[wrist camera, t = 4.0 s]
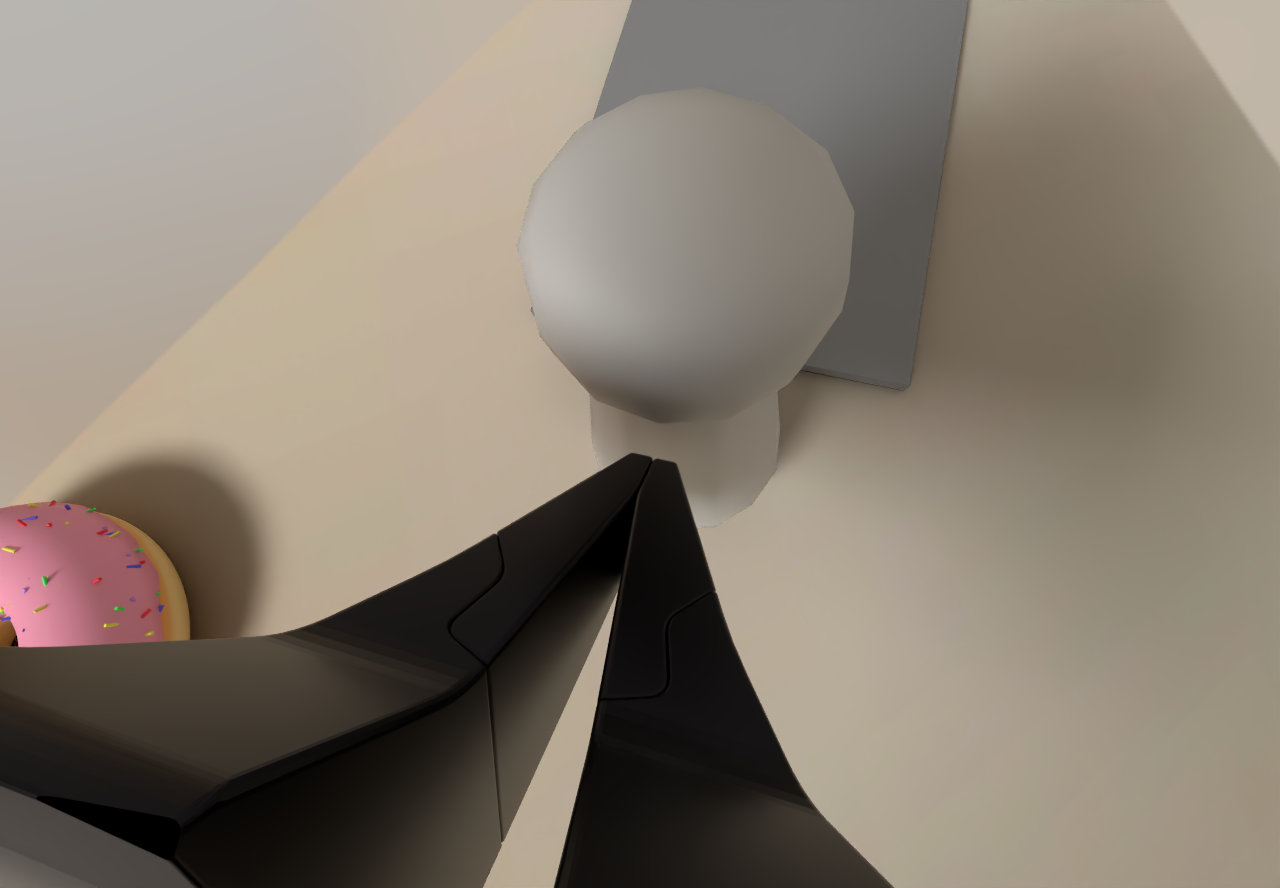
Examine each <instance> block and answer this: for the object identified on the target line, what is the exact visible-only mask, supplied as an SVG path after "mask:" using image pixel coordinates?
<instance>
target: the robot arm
mask: <svg viewBox="0 0 1280 888" xmlns="http://www.w3.org/2000/svg"><path fill="white" fill-rule="evenodd" d="M617 591H618V595H617V600H616V605H615V611H614V616H613V621H612V627H611V632H610V637H609V643H608V648H607V653H606V659H605V664H604V669H603V675H602V680H601V685H600V691H599V696H598V702H597V707H596V712H595V717H594V722H593V727H592V732H591V737H590V742H589V746H588V751H587V755H586V759H585V763H584V767H583V771H582V775H581V779H580V784H579V788H578V792H577V796H576V800H575V804H574V808H573V812H572V816H571V820H570V824H569V828H568V832H567V836H566V840H565V844H564V848H563V852H562V856H561V860H560V864H559V869H558V873H557V877H556V881H555V885H554V888H894V887H893V886H892V885H891V884H890V883H889V882H888V881H887V880H886V879H885V878H884V877H883V876H882V875H881V874H880V873H879V872H878V871H877V870H876V869H875V868H874V867H873V866H872V865H871V864H870V863H869V862H868V861H867V860H866V859H865V858H864V857H863V856H862V855H861V854H860V853H859V852H858V851H857V850H856V849H855V848H854V847H853V846H852V845H851V844H850V843H849V842H848V841H847V840H846V839H845V838H844V837H843V836H842V835H841V834H840V833H839V832H838V831H837V830H836V829H835V828H834V827H833V826H832V825H831V824H830V823H829V822H828V821H827V820H826V818H825V817H824V816H823V815H822V814H821V813H820V812H819V810H818V809H817V808H816V807H815V805H814V804H813V803H812V801H811V800H810V798H809V797H808V795H807V794H806V793H805V791H804V790H803V788H802V786H801V785H800V783H799V781H798V780H797V778H796V776H795V774H794V772H793V770H792V768H791V766H790V764H789V762H788V760H787V758H786V756H785V754H784V752H783V750H782V748H781V745H780V743H779V741H778V739H777V737H776V735H775V733H774V731H773V728H772V726H771V724H770V722H769V720H768V718H767V716H766V713H765V711H764V709H763V707H762V705H761V703H760V701H759V698H758V696H757V694H756V692H755V690H754V688H753V686H752V683H751V681H750V679H749V677H748V675H747V673H746V670H745V668H744V666H743V663H742V661H741V659H740V656H739V654H738V652H737V650H736V647H735V645H734V643H733V640H732V637H731V634H730V632H729V629H728V626H727V623H726V620H725V617H724V614H723V611H722V608H721V605H720V602H719V598H718V595H717V593H715V592H716V589H715V586H714V583H713V579H712V576H711V573H710V570H709V566H708V563H707V560H706V557H705V553H704V550H703V547H702V543H701V540H700V537H699V534H698V530H697V527H696V524H695V521H694V517H693V514H692V511H691V507H690V504H689V501H688V498H687V494H686V491H685V488H684V484H683V481H682V478H681V475H680V471H679V468H678V465H677V464H676V463H675V462H672V461H667V460H663V459H659V458H656V459H654V460H653V458H652V457H650V456H646V455H642V454H637V453H630V454H628V455H626V456H624V457H623V458H621V459H619V460H618V461H616V462H614V463H612V464H611V465H609V466H607V467H606V468H604V469H602V470H601V471H599V472H597V473H596V474H594V475H592V476H591V477H589V478H587V479H585V480H584V481H582V482H580V483H579V484H577V485H575V486H574V487H572V488H570V489H569V490H567V491H565V492H564V493H562V494H560V495H558V496H557V497H555V498H553V499H552V500H550V501H548V502H547V503H545V504H543V505H542V506H540V507H538V508H537V509H535V510H533V511H531V512H530V513H528V514H526V515H525V516H523V517H521V518H520V519H518V520H516V521H515V522H513V523H511V524H510V525H508V526H506V527H504V528H503V529H501V530H499V531H498V532H497V535H496V534H492V535H491V536H489V537H487V538H486V539H484V540H482V541H480V542H479V543H477V544H475V545H474V546H472V547H470V548H468V549H466V550H465V551H463V552H461V553H459V554H457V555H456V556H454V557H452V558H450V559H448V560H447V561H445V562H443V563H441V564H438V565H436V566H434V567H432V568H430V569H428V570H426V571H424V572H422V573H420V574H418V575H416V576H414V577H412V578H410V579H408V580H406V581H404V582H402V583H399V584H397V585H395V586H393V587H391V588H389V589H387V590H385V591H382V592H380V593H378V594H376V595H374V596H372V597H370V598H368V599H365V600H363V601H361V602H359V603H357V604H355V605H353V606H351V607H348V608H346V609H344V610H342V611H340V612H338V613H336V614H334V615H331V616H329V617H327V618H325V619H322V620H320V621H318V622H315V623H313V624H310V625H307V626H304V627H301V628H298V629H295V630H291V631H287V632H283V633H279V634H272V635H266V636H257V637H240V638H220V639H200V640H179V641H159V642H139V643H119V644H99V645H79V646H56V647H9V646H0V888H483V886H484V884H485V882H486V879H487V877H488V875H489V873H490V871H491V868H492V866H493V864H494V862H495V860H496V857H497V855H498V853H499V851H500V849H501V846H502V844H501V842H503V841H504V839H505V837H506V835H507V833H508V831H509V829H510V826H511V824H512V822H513V820H514V818H515V815H516V813H517V811H518V809H519V807H520V804H521V802H522V800H523V798H524V796H525V793H526V791H527V789H528V787H529V785H530V782H531V780H532V778H533V776H534V774H535V771H536V769H537V767H538V765H539V763H540V760H541V758H542V756H543V754H544V752H545V749H546V747H547V745H548V743H549V741H550V738H551V736H552V734H553V732H554V730H555V727H556V725H557V723H558V721H559V719H560V716H561V714H562V712H563V710H564V708H565V705H566V703H567V701H568V699H569V697H570V694H571V692H572V690H573V688H574V686H575V684H576V681H577V679H578V677H579V675H580V673H581V670H582V668H583V666H584V664H585V662H586V659H587V657H588V655H589V653H590V651H591V648H592V646H593V644H594V642H595V640H596V637H597V635H598V633H599V631H600V629H601V626H602V624H603V622H604V620H605V618H606V615H607V613H608V611H609V609H610V607H611V604H612V602H613V600H614V598H615V596H616V593H617Z"/></svg>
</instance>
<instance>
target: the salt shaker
mask: <svg viewBox="0 0 1280 888" xmlns="http://www.w3.org/2000/svg"><path fill="white" fill-rule="evenodd" d="M853 225H854V209H853V207H852V205H851V203H850V200H849V198H848V196H847V194H846V191H845V189H844V187H843V185H842V182H841V180H840V178H839V176H838V173H837V171H836V169H835V167H834V164H833V162H832V160H831V158H830V155H829V153H828V151H827V150H826V149H824V148H823V147H822V146H820V145H819V144H818V143H817V142H815V141H814V140H813V139H811V138H810V137H809V136H807V135H806V134H805V133H803V132H802V131H801V130H799V129H798V128H797V127H796V126H794V125H793V124H792V123H790V122H789V121H788V120H786V119H785V118H784V117H782V116H781V115H780V114H778V113H777V112H776V111H775V110H773V109H771V108H770V107H768V106H766V105H764V104H763V103H760V102H756V101H752V100H748V99H745V98H741V97H737V96H733V95H730V94H726V93H722V92H718V91H714V90H711V89H707V88H703V87H701V88H693V89H686V90H678V91H670V92H663V93H655V94H647V95H640V96H638V97H636V98H634V99H632V100H630V101H628V102H627V103H625V104H623V105H621V106H619V107H617V108H615V109H613V110H611V111H609V112H607V113H605V114H603V115H601V116H599V117H597V118H595V119H593V120H591V121H589V122H587V123H586V124H584V125H583V126H582V127H581V128H580V129H578V130H577V131H576V132H575V133H574V134H573V135H572V137H571V138H570V139H569V140H568V142H567V143H566V144H565V145H564V146H563V148H562V149H561V150H560V151H559V153H558V154H557V155H556V156H555V158H554V159H553V160H552V161H551V162H550V164H549V165H548V166H547V167H546V169H545V170H544V171H543V172H542V173H541V175H540V176H539V177H538V178H537V180H536V181H535V182H534V183H533V187H532V191H531V194H530V198H529V202H528V205H527V209H526V213H525V217H524V220H523V224H522V228H521V232H520V235H519V239H518V243H517V249H518V253H519V257H520V261H521V265H522V270H523V274H524V278H525V281H526V285H527V289H528V293H529V296H530V300H531V304H532V307H533V311H534V315H535V319H536V322H537V326H538V330H539V333H540V337H541V338H542V339H543V341H544V342H545V343H546V345H547V346H548V347H549V348H550V350H551V351H552V352H553V353H554V355H555V356H556V357H557V358H558V359H559V360H560V361H561V362H562V363H563V365H564V366H565V367H566V368H567V369H568V370H569V371H570V372H571V373H572V375H573V376H574V377H575V378H576V379H577V380H578V381H579V382H580V383H581V385H582V386H583V387H584V388H585V389H586V390H587V391H588V392H589V393H590V412H591V433H592V444H593V448H594V452H595V455H596V459H597V462H598V466H599V470H600V471H601V470H602V469H604V468H606V467H607V466H609V465H611V464H612V463H614V462H616V461H618V460H619V459H621V458H623V457H624V456H626V455H628V454H630V453H637V454H642V455H646V456H650V457H652V458H653V460H654V459H656V458H659V459H663V460H667V461H672V462H675V463H676V464H677V465H678V468H679V471H680V475H681V478H682V481H683V484H684V488H685V491H686V494H687V498H688V501H689V504H690V507H691V511H692V514H693V517H694V521H695V524H696V527H697V528H707V527H716V526H717V525H719V524H721V523H722V522H724V521H726V520H727V519H729V518H731V517H732V516H734V515H736V514H737V513H739V512H741V511H742V510H744V509H746V508H747V507H749V506H751V505H752V504H753V502H754V501H755V500H756V498H757V497H758V495H759V494H760V492H761V491H762V490H763V488H764V487H765V485H766V484H767V482H768V481H769V480H770V478H771V477H772V475H773V474H774V473H775V471H776V467H777V457H778V446H779V435H780V419H779V405H778V390H780V389H782V388H784V387H785V386H787V385H788V384H789V383H790V382H791V381H792V380H793V378H794V377H795V376H796V375H797V374H798V372H799V371H800V370H801V368H802V367H803V366H804V364H805V363H806V361H807V360H808V359H809V357H810V356H811V354H812V353H813V351H814V350H815V349H816V347H817V346H818V344H819V343H820V341H821V340H822V339H823V337H824V336H825V334H826V333H827V331H828V330H829V329H830V327H831V326H832V324H833V323H834V322H835V320H836V319H837V317H838V316H839V314H840V313H841V312H842V309H843V305H844V300H845V296H846V292H847V287H848V283H849V276H850V263H851V251H852V238H853Z"/></svg>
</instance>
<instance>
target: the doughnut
mask: <svg viewBox="0 0 1280 888" xmlns="http://www.w3.org/2000/svg"><path fill="white" fill-rule="evenodd" d="M94 510H96V508H95V507H93V508H91V509H90V508H88V507H85V506H82V505H77V504H70V503H59V502H56V501H52V502H41V503H29V504H24V505H17V506H10V507H5V508H1V509H0V646H9V647H10V646H11V644H12V642H13V640H14V638H15V636H16V635H17V639H18V647H56V646H79V645H99V644H119V643H139V642H159V641H179V640H190V618H189V609H188V603H187V599H186V595H185V591H184V588H183V585H182V582H181V580H180V578H179V575H178V573H177V571H176V569H175V567H174V566H173V564H172V562H171V561H170V559H169V558H168V556H167V555H166V554H165V553H164V551H163V550H162V549H161V548H160V547H159V546H158V545H157V544H156V543H155V542H154V541H153V540H152V539H151V538H150V537H149V536H148V535H146V534H145V533H144V532H142V531H141V530H140V529H138V528H136V527H135V526H133V525H131V524H130V523H128V522H126V521H124V520H121V519H119V518H116V517H114V516H111V515H107V514H104V513H99V512H96V511H94Z"/></svg>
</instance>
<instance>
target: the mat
mask: <svg viewBox="0 0 1280 888" xmlns="http://www.w3.org/2000/svg"><path fill="white" fill-rule="evenodd" d="M967 3H968V0H632V2H631V5H630V8H629V11H628V14H627V17H626V20H625V23H624V27H623V30H622V33H621V36H620V39H619V42H618V45H617V48H616V51H615V54H614V57H613V60H612V63H611V66H610V69H609V72H608V75H607V78H606V81H605V85H604V88H603V91H602V94H601V97H600V100H599V103H598V106H597V109H596V112H595V115H594V118H593V119H595V118H597V117H599V116H601V115H603V114H605V113H607V112H609V111H611V110H613V109H615V108H617V107H619V106H621V105H623V104H625V103H627V102H628V101H630V100H632V99H634V98H636V97H638V96H640V95H647V94H655V93H663V92H670V91H678V90H686V89H693V88H701V87H703V88H707V89H711V90H714V91H718V92H722V93H726V94H730V95H733V96H737V97H741V98H745V99H748V100H752V101H756V102H760V103H763V104H764V105H766V106H768V107H770V108H771V109H773V110H775V111H776V112H777V113H778V114H780V115H781V116H782V117H784V118H785V119H786V120H788V121H789V122H790V123H792V124H793V125H794V126H796V127H797V128H798V129H799V130H801V131H802V132H803V133H805V134H806V135H807V136H809V137H810V138H811V139H813V140H814V141H815V142H817V143H818V144H819V145H820V146H822V147H823V148H824V149H826V150H827V151H828V153H829V155H830V158H831V160H832V162H833V164H834V167H835V169H836V171H837V173H838V176H839V178H840V180H841V182H842V185H843V187H844V189H845V191H846V194H847V196H848V198H849V200H850V203H851V205H852V207H853V209H854V225H853V238H852V251H851V263H850V276H849V283H848V287H847V292H846V296H845V300H844V305H843V309H842V312H841V313H840V314H839V316H838V317H837V319H836V320H835V322H834V323H833V324H832V326H831V327H830V329H829V330H828V331H827V333H826V334H825V336H824V337H823V339H822V340H821V341H820V343H819V344H818V346H817V347H816V349H815V350H814V351H813V353H812V354H811V356H810V357H809V359H808V360H807V361H806V363H805V364H804V366H803V367H802V368H801V370H804V371H809V372H814V373H819V374H824V375H829V376H834V377H839V378H844V379H849V380H854V381H859V382H864V383H869V384H874V385H879V386H884V387H889V388H894V389H899V390H905V389H906V388H907V387H909V386H910V381H911V374H912V367H913V361H914V354H915V348H916V341H917V334H918V328H919V321H920V314H921V308H922V301H923V295H924V288H925V281H926V275H927V268H928V262H929V255H930V248H931V242H932V235H933V228H934V222H935V215H936V209H937V202H938V195H939V189H940V182H941V175H942V169H943V162H944V156H945V149H946V142H947V136H948V129H949V123H950V116H951V109H952V103H953V96H954V89H955V83H956V76H957V70H958V63H959V56H960V50H961V43H962V36H963V30H964V23H965V17H966V10H967ZM531 312H532V313H533V315H534V311H533V307H531ZM534 316H535V315H534Z"/></svg>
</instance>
